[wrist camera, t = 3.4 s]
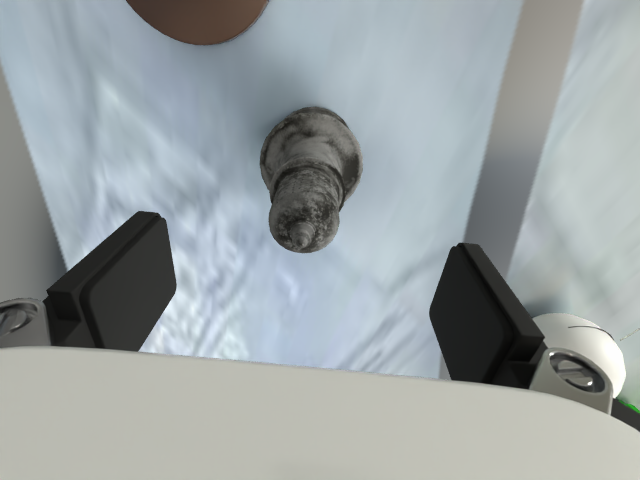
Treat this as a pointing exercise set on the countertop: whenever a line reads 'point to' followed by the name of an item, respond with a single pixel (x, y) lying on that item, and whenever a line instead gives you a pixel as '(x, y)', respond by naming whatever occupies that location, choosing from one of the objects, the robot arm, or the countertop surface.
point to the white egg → (585, 343)
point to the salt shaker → (309, 177)
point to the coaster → (200, 18)
